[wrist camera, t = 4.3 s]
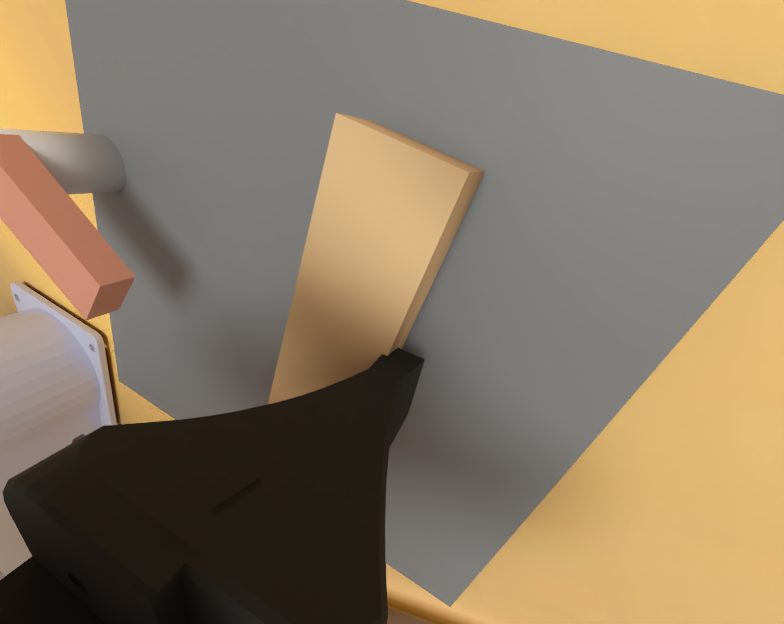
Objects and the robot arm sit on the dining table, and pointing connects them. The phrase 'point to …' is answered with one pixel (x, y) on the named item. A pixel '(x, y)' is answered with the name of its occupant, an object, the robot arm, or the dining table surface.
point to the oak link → (369, 252)
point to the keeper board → (464, 257)
